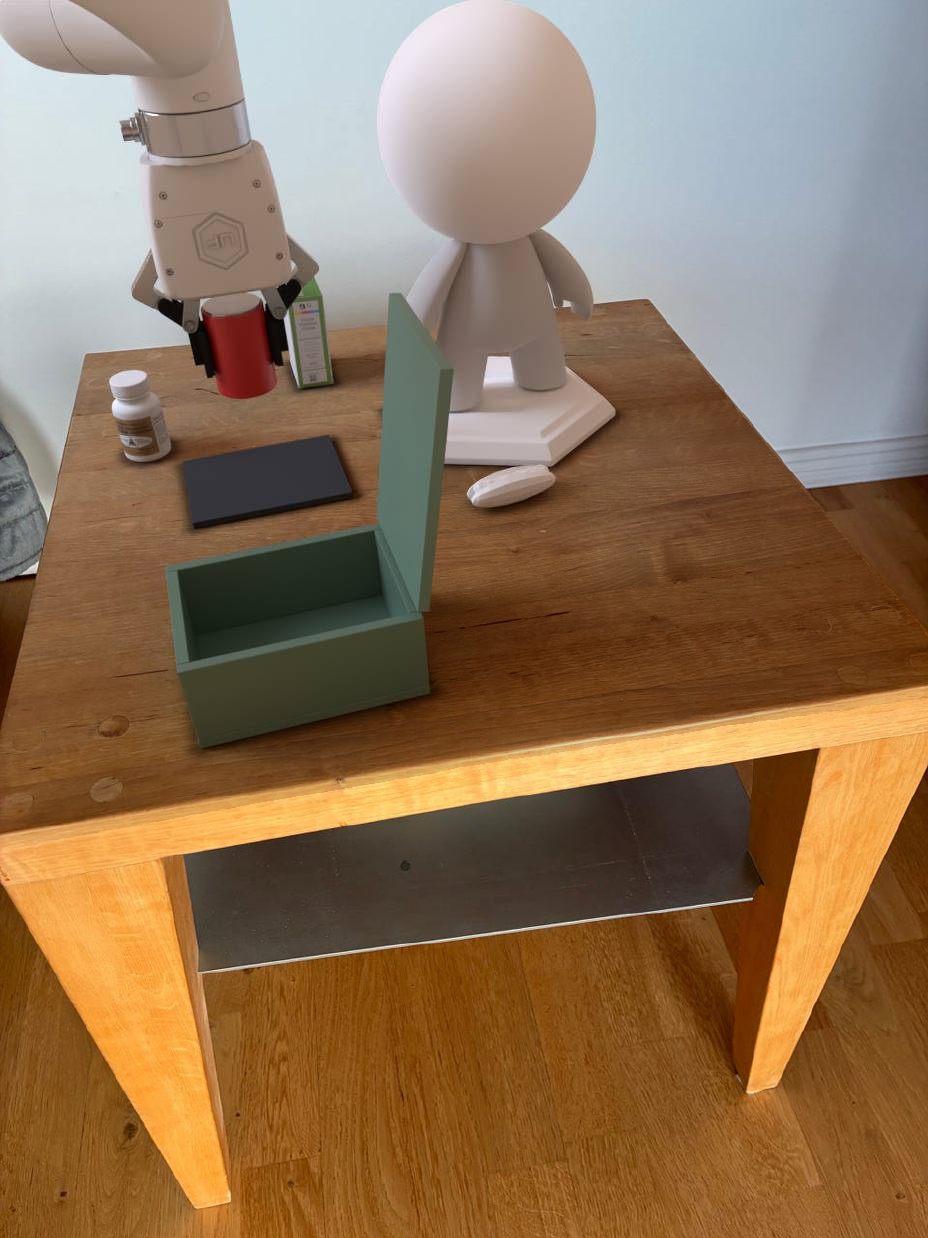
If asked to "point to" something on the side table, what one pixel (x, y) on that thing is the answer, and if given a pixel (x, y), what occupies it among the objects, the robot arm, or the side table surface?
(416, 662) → the storage box
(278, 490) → the mat
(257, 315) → the can
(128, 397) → the pill bottle
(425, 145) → the white toy figurine
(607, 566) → the side table surface
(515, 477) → the white oval capsule
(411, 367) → the lid
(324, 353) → the ink box
